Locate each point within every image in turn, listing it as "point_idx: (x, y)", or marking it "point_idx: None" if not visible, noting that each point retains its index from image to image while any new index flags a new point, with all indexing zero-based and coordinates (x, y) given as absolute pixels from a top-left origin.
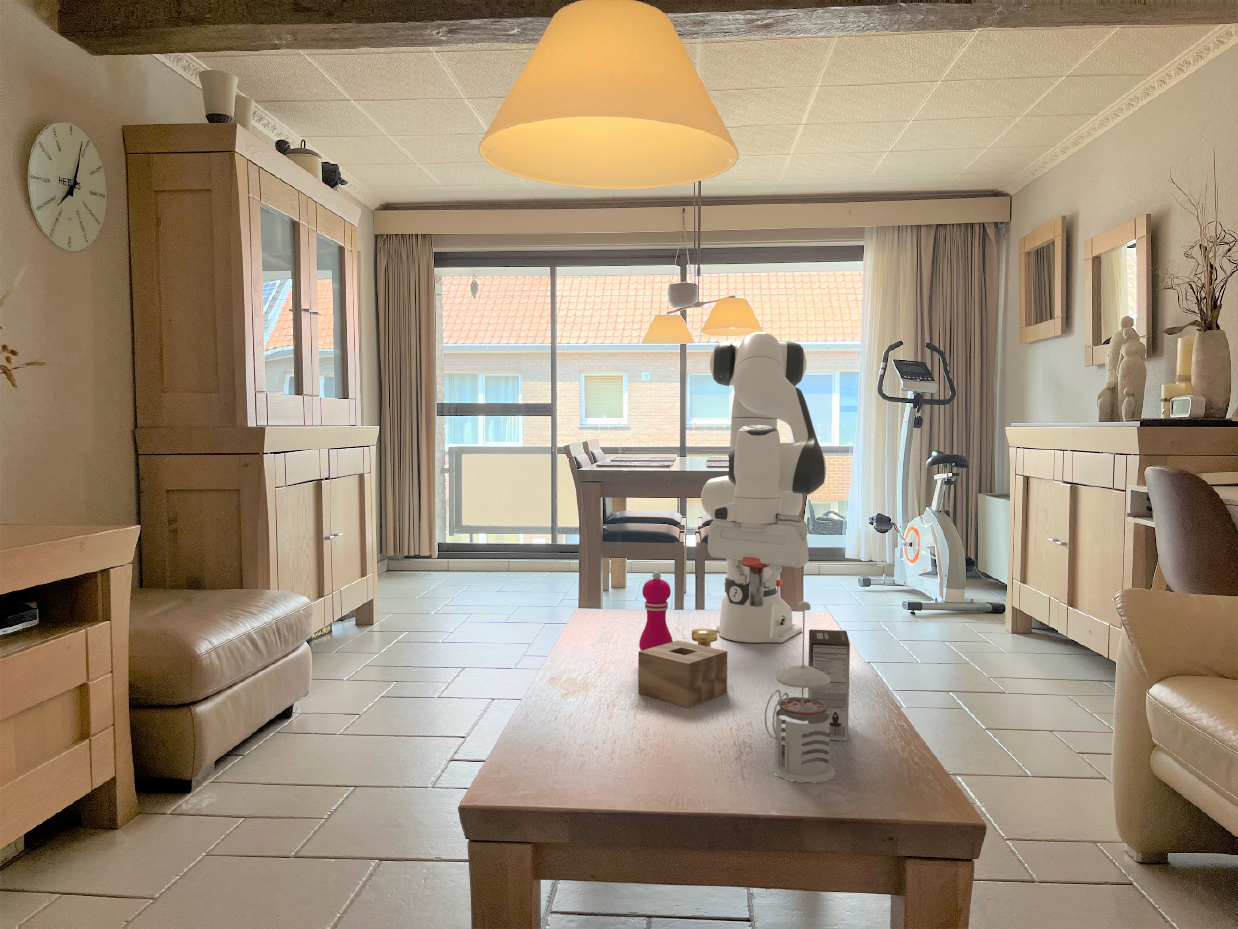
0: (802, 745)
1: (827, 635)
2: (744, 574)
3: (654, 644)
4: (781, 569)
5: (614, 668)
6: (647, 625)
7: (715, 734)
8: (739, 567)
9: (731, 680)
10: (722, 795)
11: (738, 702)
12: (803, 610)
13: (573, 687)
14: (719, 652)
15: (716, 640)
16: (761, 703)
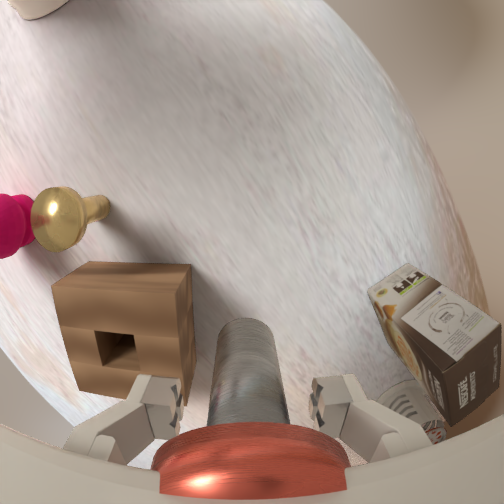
0: (400, 399)
1: (474, 383)
2: (154, 415)
3: (9, 253)
4: (419, 432)
5: (8, 278)
6: None
7: (287, 404)
8: (120, 446)
9: (150, 193)
10: (356, 464)
11: (237, 293)
12: None
13: (49, 373)
14: (170, 315)
15: (85, 207)
16: (270, 271)
